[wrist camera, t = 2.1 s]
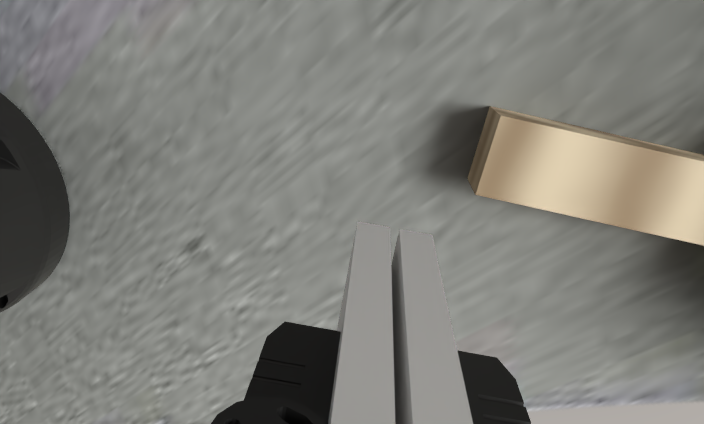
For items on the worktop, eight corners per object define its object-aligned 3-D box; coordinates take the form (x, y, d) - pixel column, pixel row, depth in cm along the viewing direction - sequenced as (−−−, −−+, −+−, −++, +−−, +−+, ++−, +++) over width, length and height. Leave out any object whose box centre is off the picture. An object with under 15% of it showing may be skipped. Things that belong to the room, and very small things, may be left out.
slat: (466, 176, 28) (475, 194, 26) (488, 104, 27) (500, 115, 24) (711, 231, 29) (747, 255, 26) (746, 163, 27) (788, 180, 24)
